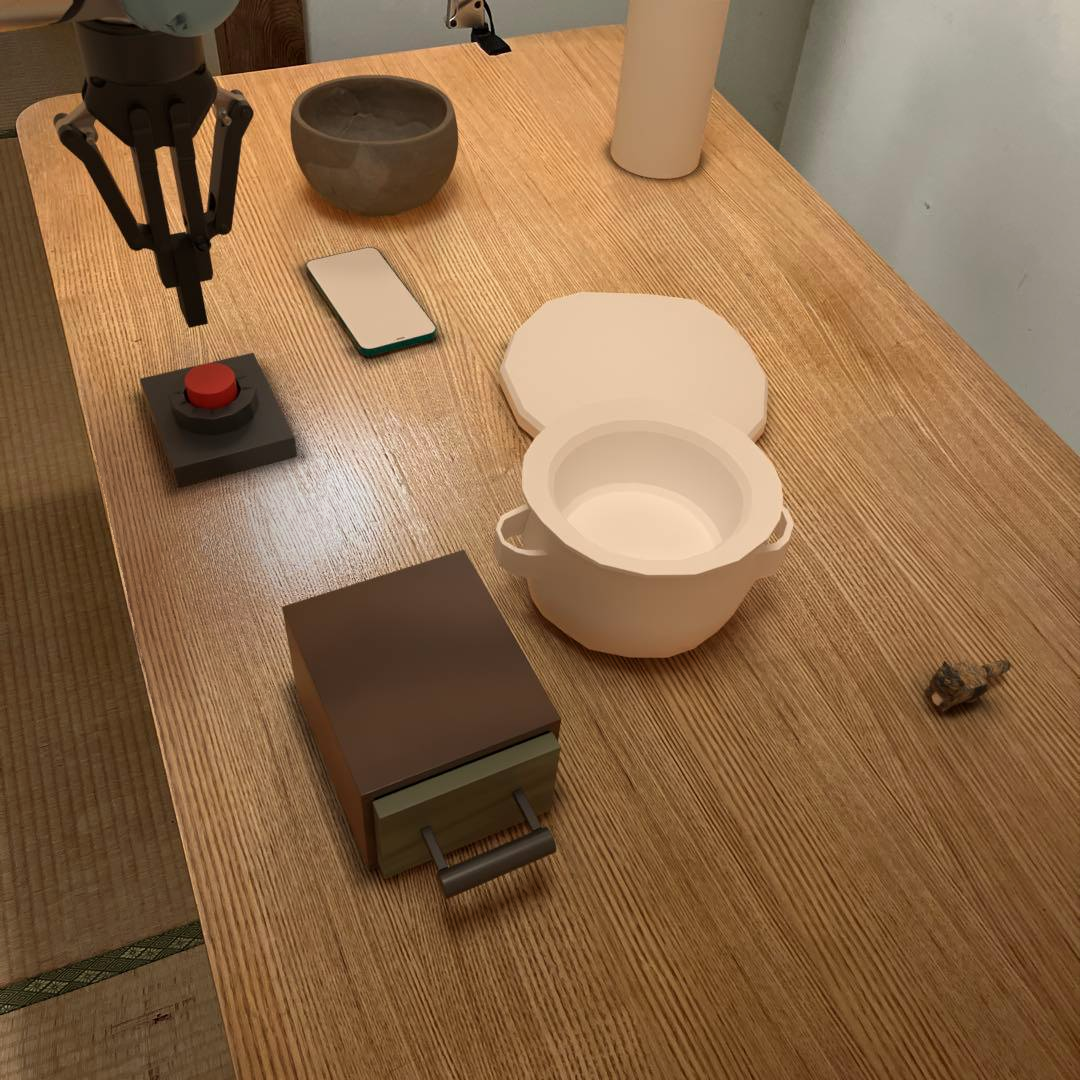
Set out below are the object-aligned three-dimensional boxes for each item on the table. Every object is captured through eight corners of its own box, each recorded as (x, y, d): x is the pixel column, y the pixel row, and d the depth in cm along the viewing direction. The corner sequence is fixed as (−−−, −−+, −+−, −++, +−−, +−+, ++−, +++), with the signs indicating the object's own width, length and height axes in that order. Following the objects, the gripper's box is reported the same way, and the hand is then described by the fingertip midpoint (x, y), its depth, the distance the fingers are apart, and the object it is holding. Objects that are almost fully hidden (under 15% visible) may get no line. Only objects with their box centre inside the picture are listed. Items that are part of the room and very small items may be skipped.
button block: (177, 488, 87) (168, 452, 85) (144, 397, 94) (134, 361, 91) (297, 456, 91) (292, 420, 88) (256, 371, 98) (250, 335, 95)
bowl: (334, 141, 126) (327, 56, 119) (478, 172, 124) (480, 86, 117) (270, 215, 115) (258, 126, 108) (427, 250, 113) (427, 161, 105)
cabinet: (549, 797, 71) (561, 718, 64) (368, 872, 67) (360, 796, 60) (461, 634, 80) (464, 549, 72) (296, 691, 75) (281, 606, 68)
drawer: (582, 869, 67) (596, 808, 61) (411, 944, 63) (408, 888, 57) (467, 654, 77) (469, 585, 72) (314, 707, 73) (303, 639, 68)
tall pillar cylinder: (716, 157, 130) (762, -67, 112) (664, 189, 124) (704, -43, 106) (645, 125, 134) (679, -97, 116) (592, 154, 129) (618, -74, 110)
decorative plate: (501, 268, 104) (753, 280, 106) (499, 303, 107) (744, 315, 109) (499, 444, 88) (798, 456, 89) (497, 480, 91) (786, 491, 92)
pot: (737, 503, 91) (771, 392, 82) (798, 672, 79) (845, 564, 70) (478, 517, 88) (483, 403, 79) (503, 695, 76) (512, 586, 67)
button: (195, 414, 88) (191, 398, 87) (182, 385, 90) (179, 369, 89) (243, 403, 90) (240, 386, 88) (230, 374, 92) (227, 358, 91)
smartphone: (302, 269, 109) (362, 359, 100) (302, 261, 108) (362, 351, 99) (376, 252, 112) (441, 339, 103) (375, 245, 111) (441, 331, 102)
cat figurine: (903, 695, 78) (931, 659, 76) (976, 672, 82) (1005, 638, 79) (929, 725, 77) (957, 690, 74) (1001, 700, 81) (1031, 666, 78)
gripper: (31, 37, 62) (118, 362, 79) (254, 13, 67) (290, 325, 84) (11, -13, 66) (97, 306, 84) (221, -33, 71) (262, 273, 88)
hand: (194, 315), depth 84 cm, fingers closed
